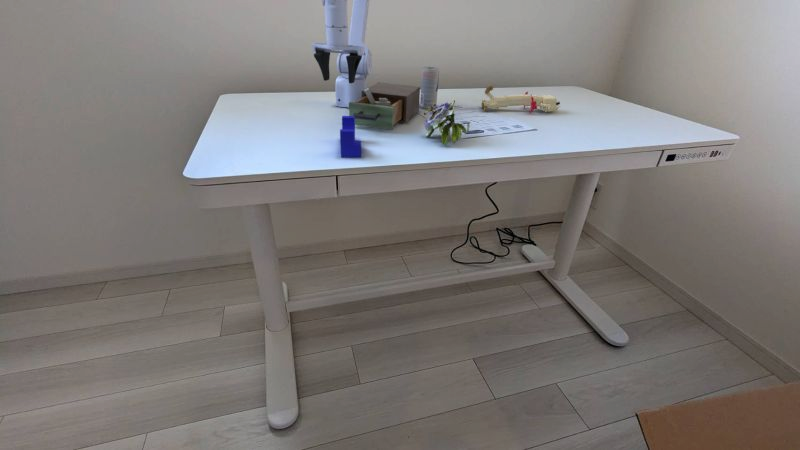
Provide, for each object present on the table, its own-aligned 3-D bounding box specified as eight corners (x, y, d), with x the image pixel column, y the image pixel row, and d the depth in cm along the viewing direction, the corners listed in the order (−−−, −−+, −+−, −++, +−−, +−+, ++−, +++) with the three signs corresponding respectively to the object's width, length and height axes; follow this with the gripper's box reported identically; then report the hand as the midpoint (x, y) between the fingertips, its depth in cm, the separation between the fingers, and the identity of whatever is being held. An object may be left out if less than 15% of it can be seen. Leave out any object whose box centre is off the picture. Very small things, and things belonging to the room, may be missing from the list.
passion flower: (427, 156, 105) (419, 113, 106) (467, 149, 105) (458, 106, 106) (431, 146, 94) (421, 98, 94) (475, 138, 94) (465, 89, 95)
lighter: (389, 116, 110) (390, 87, 106) (390, 118, 109) (390, 88, 105) (364, 116, 109) (363, 87, 105) (364, 118, 108) (364, 88, 104)
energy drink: (436, 105, 131) (439, 67, 125) (436, 109, 126) (439, 70, 120) (420, 104, 131) (422, 66, 125) (419, 108, 127) (421, 69, 120)
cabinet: (405, 123, 112) (406, 96, 108) (361, 117, 116) (361, 91, 112) (418, 111, 123) (420, 86, 119) (378, 106, 127) (378, 82, 123)
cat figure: (485, 117, 125) (564, 113, 124) (487, 89, 120) (569, 85, 120) (479, 109, 133) (553, 105, 133) (481, 82, 129) (557, 78, 128)
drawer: (386, 135, 100) (386, 112, 97) (342, 128, 103) (341, 106, 100) (406, 117, 114) (407, 97, 111) (366, 112, 117) (366, 92, 114)
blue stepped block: (361, 157, 89) (360, 131, 86) (341, 157, 88) (339, 131, 85) (361, 139, 99) (360, 116, 96) (343, 139, 99) (342, 115, 95)
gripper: (304, 25, 100) (308, 81, 107) (356, 29, 96) (357, 86, 103) (317, 24, 106) (320, 77, 113) (367, 27, 102) (367, 82, 109)
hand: (339, 81), depth 109 cm, fingers open, 7 cm apart
